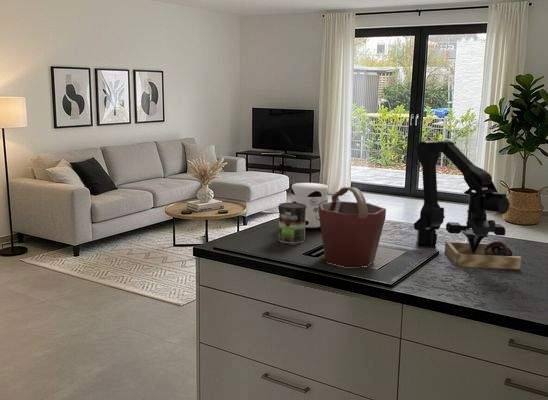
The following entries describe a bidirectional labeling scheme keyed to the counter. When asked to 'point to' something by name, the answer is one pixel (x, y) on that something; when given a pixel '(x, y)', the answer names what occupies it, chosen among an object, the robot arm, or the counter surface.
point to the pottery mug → (498, 249)
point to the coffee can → (292, 222)
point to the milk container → (310, 201)
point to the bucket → (350, 229)
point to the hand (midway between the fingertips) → (473, 252)
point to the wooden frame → (478, 256)
